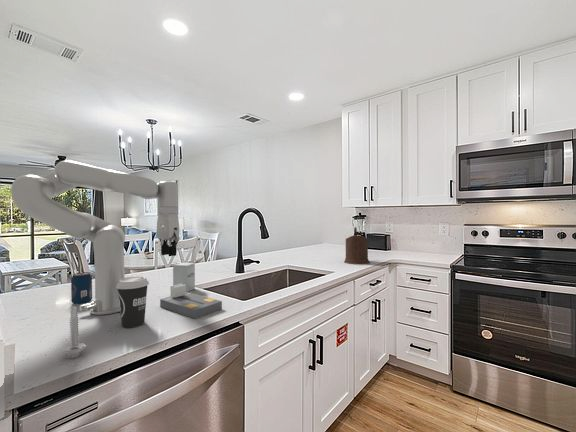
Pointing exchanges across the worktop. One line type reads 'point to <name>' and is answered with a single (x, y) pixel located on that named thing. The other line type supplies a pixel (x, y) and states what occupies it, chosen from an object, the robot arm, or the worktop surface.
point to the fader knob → (178, 290)
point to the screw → (74, 337)
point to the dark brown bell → (356, 249)
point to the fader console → (191, 305)
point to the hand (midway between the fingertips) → (168, 254)
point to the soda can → (81, 288)
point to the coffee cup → (132, 300)
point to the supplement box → (184, 275)
